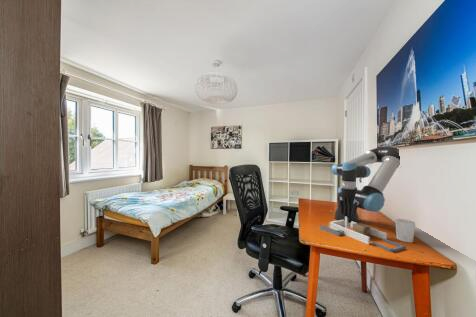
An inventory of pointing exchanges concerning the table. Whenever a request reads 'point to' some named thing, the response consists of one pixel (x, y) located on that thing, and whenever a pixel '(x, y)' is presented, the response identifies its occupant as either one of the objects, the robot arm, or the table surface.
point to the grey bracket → (398, 248)
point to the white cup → (405, 230)
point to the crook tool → (331, 230)
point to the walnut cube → (362, 229)
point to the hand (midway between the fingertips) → (347, 227)
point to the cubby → (365, 239)
